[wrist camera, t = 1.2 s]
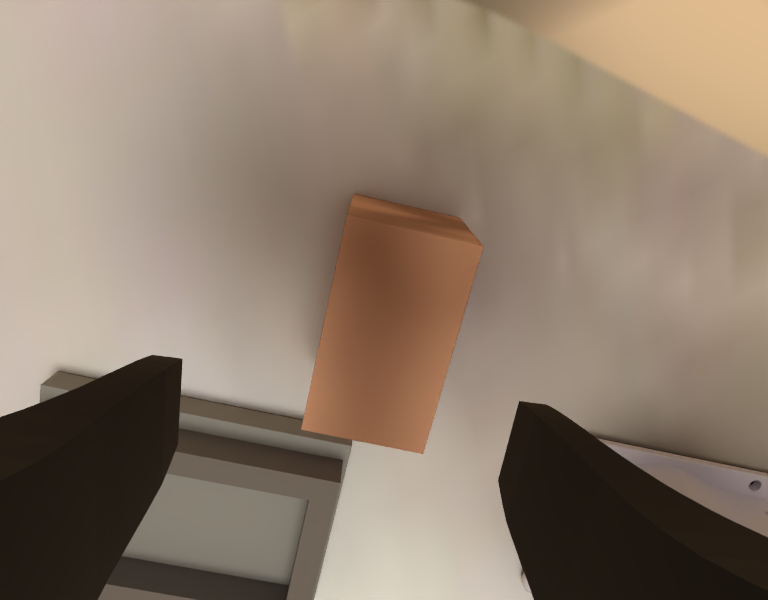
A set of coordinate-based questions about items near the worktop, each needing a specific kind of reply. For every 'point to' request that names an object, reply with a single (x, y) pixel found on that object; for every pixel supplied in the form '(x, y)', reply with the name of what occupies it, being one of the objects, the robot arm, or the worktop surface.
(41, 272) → the worktop surface
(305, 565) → the nest plate
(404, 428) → the terracotta bar
